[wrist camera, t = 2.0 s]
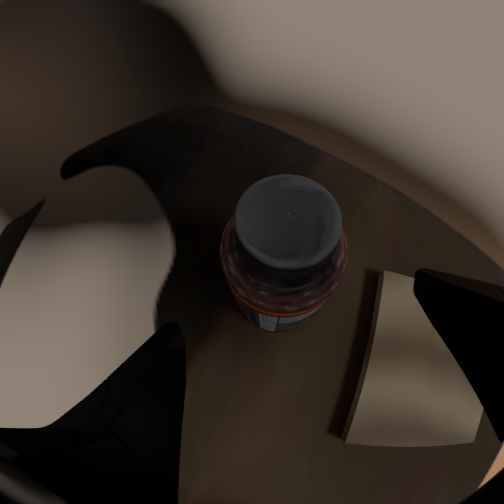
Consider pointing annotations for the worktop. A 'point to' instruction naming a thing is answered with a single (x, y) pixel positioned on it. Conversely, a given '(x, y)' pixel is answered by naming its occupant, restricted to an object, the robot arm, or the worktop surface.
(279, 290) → the supplement bottle
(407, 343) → the beige square board
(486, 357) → the robot arm
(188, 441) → the worktop surface
